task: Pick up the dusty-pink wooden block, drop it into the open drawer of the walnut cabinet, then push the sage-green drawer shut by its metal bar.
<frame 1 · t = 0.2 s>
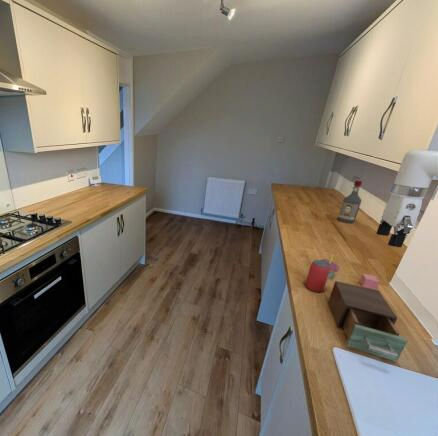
hand: (387, 240, 80), 28 cm above the counter, tool pointing down, fingers open, 9 cm apart
beer can: (313, 288, 100), on the counter
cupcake: (324, 275, 109), on the counter
block: (367, 286, 101), on the counter
cabinet: (354, 319, 83), on the counter
liquor: (345, 221, 176), on the counter
drawer: (370, 332, 72), point 5 cm above the counter, slide at 7.5 cm
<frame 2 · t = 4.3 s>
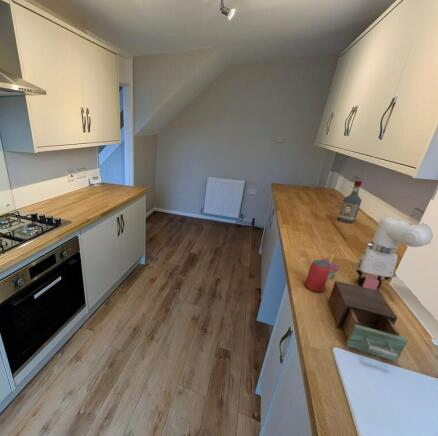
hand: (367, 285, 101), 0 cm above the counter, tool pointing down, fingers closed on block, 4 cm apart
block: (367, 286, 101), on the counter, touching gripper
everything else where it was.
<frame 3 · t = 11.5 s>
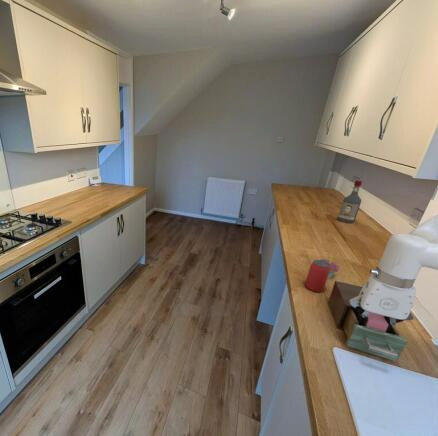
hand: (371, 327, 72), 6 cm above the counter, tool pointing down, fingers closed on block, 4 cm apart
block: (370, 328, 72), point 6 cm above the counter, touching gripper
everything else where it was.
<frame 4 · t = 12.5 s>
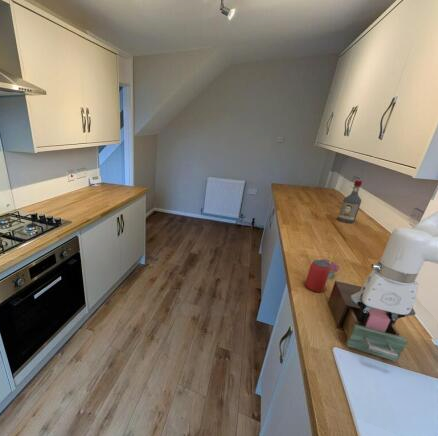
hand: (372, 323, 71), 8 cm above the counter, tool pointing down, fingers closed on block, 4 cm apart
block: (372, 324, 71), point 7 cm above the counter, touching gripper
everything else where it was.
when the fingers open (8 cm above the counter, at t = 20.8 s): block drops 6 cm, resting on drawer.
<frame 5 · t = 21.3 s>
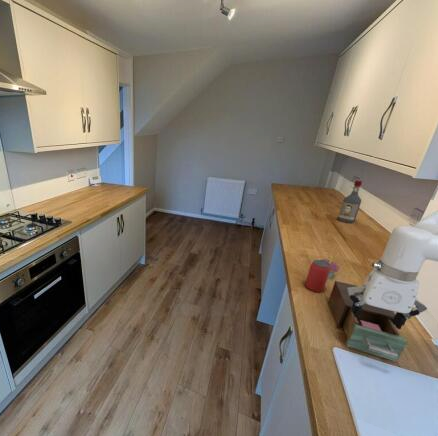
hand: (374, 319, 71), 9 cm above the counter, tool pointing down, fingers open, 9 cm apart
block: (366, 338, 73), point 2 cm above the counter, touching drawer
drawer: (370, 332, 72), point 5 cm above the counter, slide at 7.5 cm, touching block
everything else where it was.
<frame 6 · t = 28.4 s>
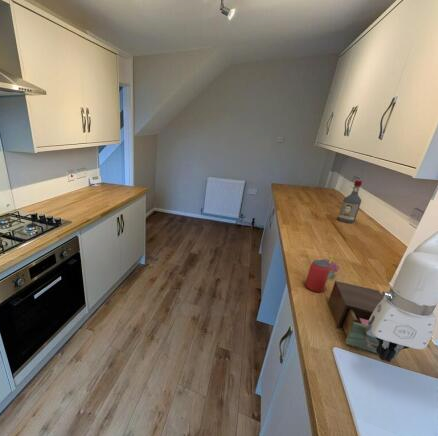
hand: (383, 356, 64), 5 cm above the counter, tool pointing down, fingers closed
block: (365, 335, 74), point 2 cm above the counter, touching drawer
drawer: (369, 330, 73), point 5 cm above the counter, slide at 6.5 cm, touching block, gripper
everything else where it was.
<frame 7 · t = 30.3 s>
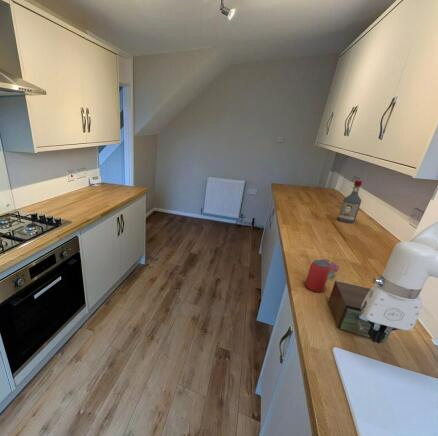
hand: (374, 338, 69), 5 cm above the counter, tool pointing down, fingers closed
block: (359, 321, 80), point 2 cm above the counter, touching drawer
drawer: (362, 316, 78), point 5 cm above the counter, slide at 0.0 cm, touching block, cabinet, gripper
everything else where it was.
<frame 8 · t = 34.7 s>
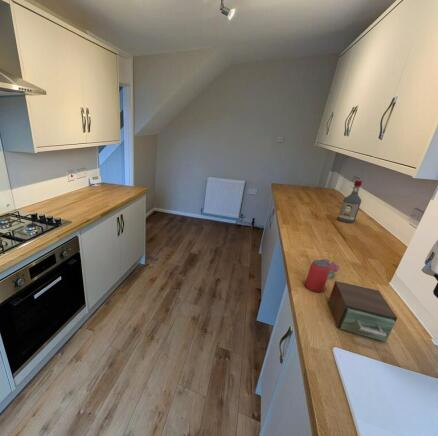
drawer: (362, 316, 78), point 5 cm above the counter, slide at 0.0 cm, touching block, cabinet
everything else where it was.
at the end: block inside the target area in the cabinet (3.4 cm from its centre), point 2.0 cm above the cabinet's base; drawer slide at 0.0 cm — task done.
